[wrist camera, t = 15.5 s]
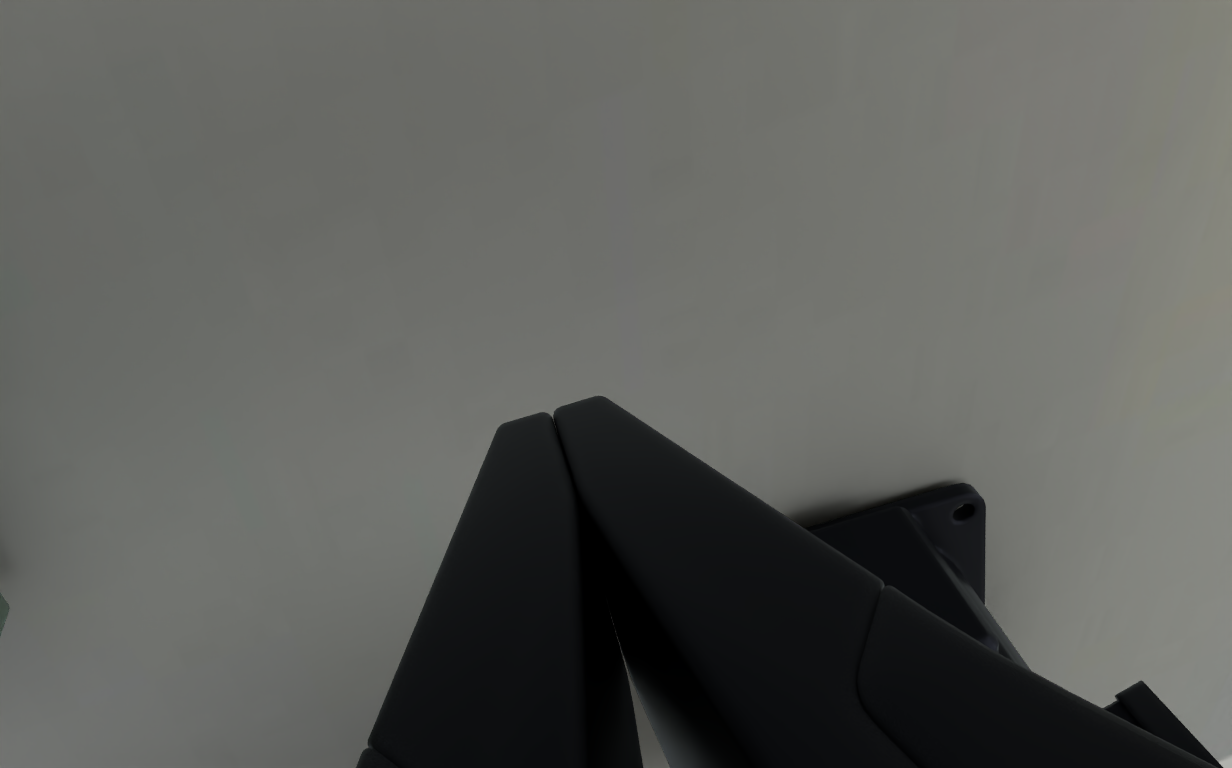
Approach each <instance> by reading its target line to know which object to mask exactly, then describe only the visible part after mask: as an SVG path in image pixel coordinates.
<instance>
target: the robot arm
mask: <svg viewBox="0 0 1232 768" xmlns="http://www.w3.org/2000/svg"><path fill="white" fill-rule="evenodd" d="M553 418H554V421H553ZM553 418H552V416H551V415H549V414H548V413H545V412H541V413H537V414H534V415H530V416H527V417H523V418H520V419H517V420H513V421H510V422H506V423H504V424H502V425H501V426H500V427H499V428H498V429H497V431H496V433H495V436H494V438H493V441H492V443H491V445H490V448H489V450H488V453H487V455H486V457H485V460H484V462H483V465H482V467H481V469H480V472H479V474H478V477H477V479H476V481H475V484H474V486H473V489H472V491H471V493H470V496H469V498H468V501H467V503H466V506H465V508H464V510H463V513H462V515H461V518H460V520H459V522H458V525H457V527H456V530H455V532H454V534H453V537H452V539H451V542H450V544H449V546H448V549H447V551H446V554H445V556H444V558H443V561H442V563H441V566H440V568H439V570H438V573H437V575H436V578H435V580H434V583H433V585H432V587H431V590H430V592H429V595H428V597H427V599H426V602H425V604H424V607H423V609H422V611H421V614H420V616H419V619H418V621H417V623H416V626H415V628H414V631H413V633H412V635H411V638H410V640H409V643H408V645H407V647H406V650H405V652H404V655H403V657H402V659H401V662H400V664H399V667H398V669H397V671H396V674H395V676H394V679H393V681H392V684H391V686H390V688H389V691H388V693H387V696H386V698H385V700H384V703H383V705H382V708H381V710H380V712H379V715H378V717H377V720H376V722H375V724H374V727H373V729H372V732H371V734H370V736H369V739H368V746H369V748H367V749H365V750H364V751H363V752H362V754H361V756H360V759H359V761H358V764H357V766H356V768H643V763H642V757H641V751H640V745H639V738H638V732H637V726H636V719H635V713H634V707H633V701H632V696H631V691H630V686H629V681H628V676H627V672H626V668H625V664H624V661H623V657H622V653H623V656H624V659H625V662H626V665H627V668H628V671H629V674H630V677H631V679H632V682H633V684H634V686H635V689H636V691H637V694H638V696H639V698H640V701H641V703H642V705H643V708H644V710H645V712H646V714H647V716H648V719H649V721H650V723H651V725H652V728H653V730H654V732H655V734H656V736H657V739H658V741H659V743H660V745H661V747H662V750H663V752H664V754H665V756H666V758H667V761H668V763H669V765H670V767H671V768H1223V767H1222V766H1221V765H1220V764H1219V763H1218V761H1217V760H1216V759H1215V758H1214V757H1213V756H1212V755H1211V754H1210V753H1209V752H1208V751H1207V750H1206V749H1205V747H1204V746H1203V745H1202V744H1201V743H1200V742H1199V741H1198V740H1197V739H1196V738H1195V737H1194V736H1193V735H1192V734H1191V732H1190V731H1189V730H1188V729H1187V728H1186V727H1185V726H1184V725H1183V724H1182V723H1181V722H1180V721H1179V720H1178V719H1177V717H1176V716H1175V715H1174V714H1173V713H1172V712H1171V711H1170V710H1169V709H1168V708H1167V707H1166V706H1165V705H1164V704H1163V702H1162V701H1161V700H1160V699H1159V698H1158V697H1157V696H1156V695H1155V694H1154V693H1153V692H1152V691H1151V690H1150V688H1149V687H1148V686H1147V685H1146V684H1145V683H1144V682H1143V681H1139V682H1138V683H1136V684H1134V685H1132V686H1131V687H1129V688H1127V689H1125V690H1124V691H1122V692H1120V693H1118V694H1117V695H1115V697H1116V699H1117V701H1115V702H1113V703H1112V704H1110V705H1108V706H1106V707H1105V708H1103V709H1102V708H1100V707H1098V706H1096V705H1094V704H1092V703H1090V702H1088V701H1086V700H1084V699H1082V698H1081V697H1079V696H1077V695H1075V694H1073V693H1071V692H1069V691H1067V690H1065V689H1063V688H1062V687H1060V686H1058V685H1056V684H1054V683H1052V682H1050V681H1049V680H1047V679H1045V678H1043V677H1041V676H1039V675H1038V674H1036V673H1034V672H1032V671H1031V670H1030V668H1029V667H1028V666H1027V664H1026V663H1025V661H1024V660H1023V659H1022V657H1021V656H1020V654H1019V653H1018V652H1017V650H1016V649H1015V647H1014V646H1013V645H1012V643H1011V642H1010V640H1009V639H1008V638H1007V636H1006V635H1005V633H1004V632H1003V631H1002V629H1001V628H1000V626H999V625H998V624H997V622H996V621H995V619H994V618H993V617H992V615H991V614H990V612H989V611H988V609H987V608H986V607H985V517H986V506H985V502H984V500H983V498H982V497H981V496H980V495H979V493H978V492H977V491H976V490H975V489H974V488H973V487H972V486H971V485H969V484H965V483H960V484H954V485H950V486H947V487H944V488H940V489H937V490H934V491H930V492H927V493H923V494H920V495H917V496H913V497H910V498H907V499H903V500H900V501H896V502H893V503H890V504H886V505H883V506H880V507H876V508H873V509H869V510H866V511H863V512H859V513H856V514H853V515H849V516H846V517H842V518H839V519H836V520H832V521H829V522H826V523H822V524H819V525H815V526H812V527H809V528H805V529H804V528H803V527H801V526H800V525H798V524H797V523H795V522H793V521H792V520H790V519H789V518H787V517H786V516H784V515H783V514H781V513H780V512H778V511H777V510H775V509H774V508H772V507H771V506H769V505H768V504H766V503H765V502H763V501H762V500H760V499H759V498H757V497H756V496H754V495H753V494H751V493H750V492H748V491H747V490H745V489H744V488H742V487H741V486H739V485H738V484H736V483H734V482H733V481H731V480H730V479H728V478H727V477H725V476H724V475H722V474H721V473H719V472H718V471H716V470H715V469H713V468H712V467H710V466H709V465H707V464H706V463H704V462H703V461H701V460H700V459H698V458H697V457H695V456H694V455H692V454H691V453H689V452H688V451H686V450H685V449H683V448H682V447H680V446H679V445H677V444H676V443H674V442H672V441H671V440H669V439H668V438H666V437H665V436H663V435H662V434H660V433H659V432H657V431H656V430H654V429H653V428H651V427H650V426H648V425H647V424H645V423H644V422H642V421H641V420H639V419H638V418H636V417H635V416H633V415H632V414H630V413H629V412H627V411H626V410H624V409H623V408H621V407H620V406H618V405H617V404H615V403H613V402H612V401H610V400H609V399H607V398H606V397H603V396H595V397H591V398H588V399H584V400H581V401H578V402H574V403H571V404H568V405H564V406H561V407H559V408H557V409H556V410H555V411H554V415H553ZM554 423H555V424H554ZM555 426H556V427H555ZM963 504H964V505H963ZM961 505H963V506H962V507H961V508H959V509H957V508H958V507H959V506H961ZM956 509H957V510H956ZM607 603H608V604H607ZM609 610H610V611H609ZM610 613H611V614H610ZM611 617H612V618H611ZM612 620H613V621H612ZM613 623H614V625H613ZM614 627H615V628H614ZM615 630H616V632H615ZM616 633H617V635H616ZM617 637H618V639H617ZM618 640H619V642H618ZM619 643H620V646H619ZM620 647H621V649H620ZM621 650H622V653H621Z"/></svg>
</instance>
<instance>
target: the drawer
mask: <svg viewBox="0 0 1232 768" xmlns="http://www.w3.org/2000/svg"><path fill="white" fill-rule="evenodd" d="M8 612H9V604H8V603H7V601H6V600H5V599H4V597H3V596H2V594H1V593H0V636H1V633H2V630H3V627H4V624H5V621H6V618H7V615H8Z"/></svg>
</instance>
